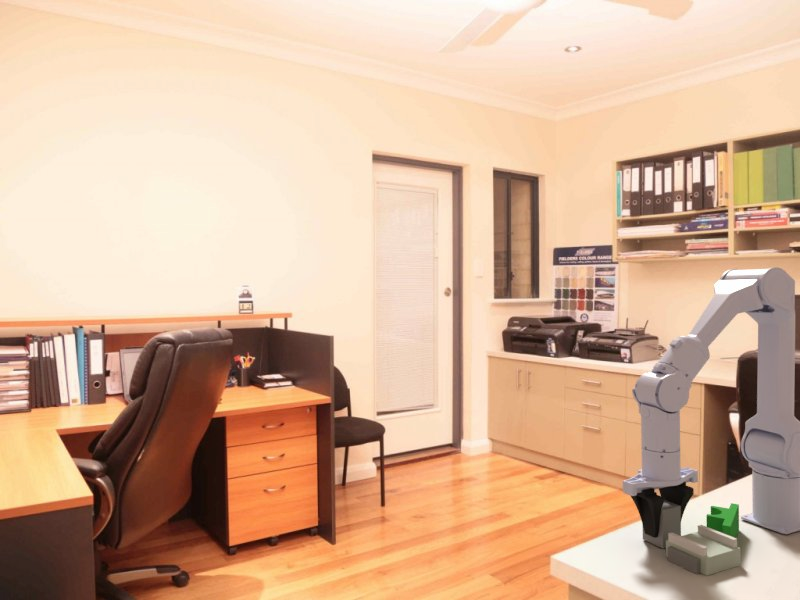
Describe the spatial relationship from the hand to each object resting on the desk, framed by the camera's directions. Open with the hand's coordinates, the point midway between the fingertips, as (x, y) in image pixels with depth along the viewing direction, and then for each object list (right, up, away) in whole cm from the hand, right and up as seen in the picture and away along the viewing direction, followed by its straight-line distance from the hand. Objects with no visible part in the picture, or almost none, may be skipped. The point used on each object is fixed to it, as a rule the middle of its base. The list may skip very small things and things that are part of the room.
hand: (661, 532), depth 98 cm
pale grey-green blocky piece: (+3, -2, -7) cm, 8 cm away
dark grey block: (0, -1, 0) cm, 1 cm away
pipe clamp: (+10, -2, +1) cm, 10 cm away
